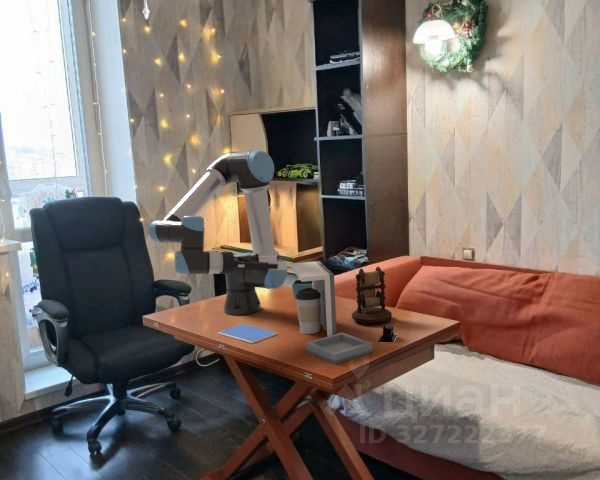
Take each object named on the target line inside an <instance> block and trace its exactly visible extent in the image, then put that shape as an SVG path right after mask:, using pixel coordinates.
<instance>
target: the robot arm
mask: <svg viewBox="0 0 600 480" xmlns="http://www.w3.org/2000/svg"><path fill="white" fill-rule="evenodd" d="M274 174H275V163H274V161H273V159H272V157H271V156H270V155H269V154H268V152H266V151H263V150H256V149H253V150H243V151H229V152H227V153H225V154H223V155H220V157H218V158H217V159H215V160H214V161H213V162H212V163H211V164H210V165H208V167H207V168H206V169H204V171H203V176H202V177H201V178H200V179H199V180H198V181H197V182H196V183H195V185H193V187H192V188H191V189H189V191H188V192H187V193H186V194H184V196H183V197H182V198H181V199H180V200H179V201H178V203H176V205H175V206H173V208H172V209H171V210H170V211H169V212H168V213H167V214H166V215H165V216H164V217H163V218H162V219H157V220H154V221H152V222H151V223H150V224H149V226H148V235H149V237H150V239H151V240H152V241H154V242H158V243H163V244H164V243H165V244H166V243H167V244H169V243H170V244H171V243H172V244H180V250H179V251H175V253H174V263H173V264H174V271H175V273H176V274H184V275H186V274H187V275H206V274H208V275H211V276H214V275H215V274H223V275H225V284H226V296H225V300H224V303H223V311H224V313H225V314H227V315H235V316H240V315H242V316H243V315H250V314H254V313H257V312H259V311H260V310H261V308H262V305H261V301H260V298H259V297H258V293H257V291H256V288H259V289H267V290H270V289H272V290H276V289H279V288H280V287H282V285H284V283H285V280H286V279H287V275H288V262H287V261H285V260H283V259H282V258H280V252H279V251H278V250H276V249H275V240H274V236H273V228H272V227H273V225H272V221H271V213H270V206H269V198H268V197H269V196H268V191H267V190H268V188H269V186H270V185H271V184H270V182H271V181H272V179H273V177H274ZM231 183H238V188H239V190H241V191H242V192H243V194H244V200H245V207H246V208H245V209H246V213H247V222H248V228H249V234H250V235H249V236H250V242H251V250H252V252H244V253H237V254H234V253H233V251H222V252H221V251H204V250H205V246H204V245H205V220H204V217H203V216H199V215H198V216H197V214H198V213H199V212H200V211H201V209H203V208H204V206H205V205H206V204H207V203H208V202H209V201H210V200H211V199H212V197H214V195H216V193H217V192H218V191H219V190H223V189H225V187H226V186H227V185H229V184H231Z"/></svg>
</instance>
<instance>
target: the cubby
mask: <svg viewBox="0 0 600 480" xmlns="http://www.w3.org/2000/svg"><path fill="white" fill-rule="evenodd" d="M289 267H290V269H291V271H292V272H293V273H294V274H295V275H296V277H297V278H298V280H301V281H302V282H304V281H313V289H316V290H317V291H318V292H320V293H321V297H320V303H321V318H320V325H322V327H323V328H324V330H325V331H326V334H327V335H326V337H327V336H331V335H335V334H338V332H337V331H338V330H337V310H336V291H335V290H336V288H335V274H334V273H333V272H332V271H331V270H330V269H328V268H327V266H325V265H324V264H323V263H322V262H321V261H319V260H317V261H308V262H294V263H290V264H289Z"/></svg>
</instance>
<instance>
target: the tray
mask: <svg viewBox="0 0 600 480" xmlns="http://www.w3.org/2000/svg"><path fill="white" fill-rule="evenodd" d="M305 352H306V353H308V354H309V355H312V356H315V357H318V358H320V359H322V360H324V361H327V362H329V363H330V364H334V365H337V364H338V365H339V364H341V363H343V362H347V361H349V360H353V359H356V358H359V356H360V357H362V355H363V356H366V355H369V354H372V353H373V343H372V342H370V341H367V340H364V339H361V338H358V337H356V336H353V335H350V334H348V333H345V332H337V334H335V335H331V336H327V335H326V336H324V337H321V338H317V339H315V340H310V341H307V342H305Z"/></svg>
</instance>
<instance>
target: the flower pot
mask: <svg viewBox="0 0 600 480" xmlns="http://www.w3.org/2000/svg"><path fill="white" fill-rule="evenodd" d="M291 287H292V293H293V297H294V299H295V301H296V302H297V300H296V294H297V293H298V291H300V290H303V289H306V288H313V281H304V282H302V281H301V280H300V279H294V281H293V282H292V283H291Z"/></svg>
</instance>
